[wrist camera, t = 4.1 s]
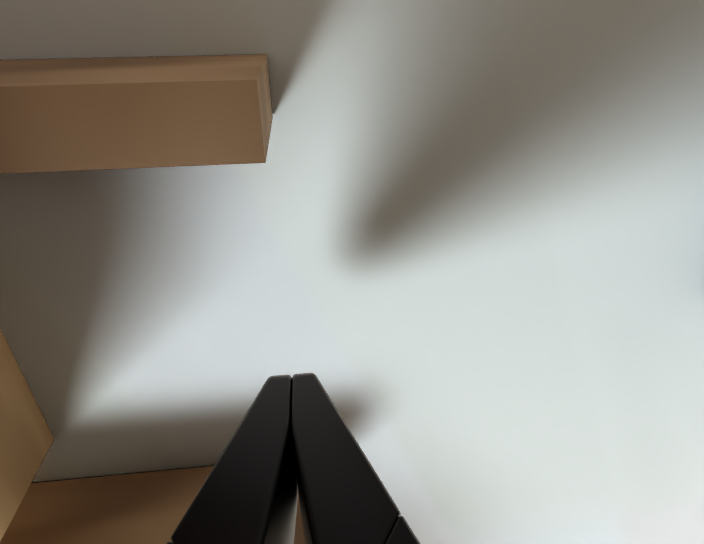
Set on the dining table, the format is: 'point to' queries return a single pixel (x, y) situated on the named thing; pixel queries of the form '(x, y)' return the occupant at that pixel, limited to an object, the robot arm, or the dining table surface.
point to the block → (18, 436)
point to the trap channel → (120, 153)
